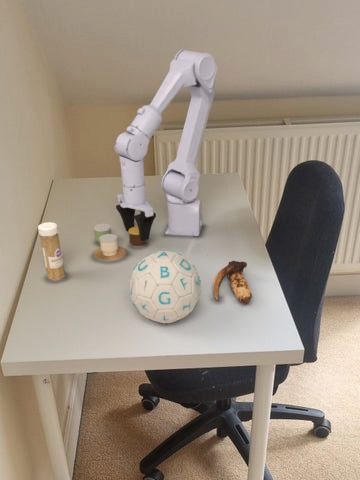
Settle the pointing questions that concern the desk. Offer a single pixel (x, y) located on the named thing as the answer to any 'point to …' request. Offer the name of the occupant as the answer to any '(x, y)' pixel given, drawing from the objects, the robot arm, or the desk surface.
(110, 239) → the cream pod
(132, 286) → the puzzle ball
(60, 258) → the sprinkles bottle
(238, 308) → the desk surface
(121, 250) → the coaster
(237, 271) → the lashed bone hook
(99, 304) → the desk surface
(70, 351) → the desk surface
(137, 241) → the brown pod
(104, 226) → the cylinder
